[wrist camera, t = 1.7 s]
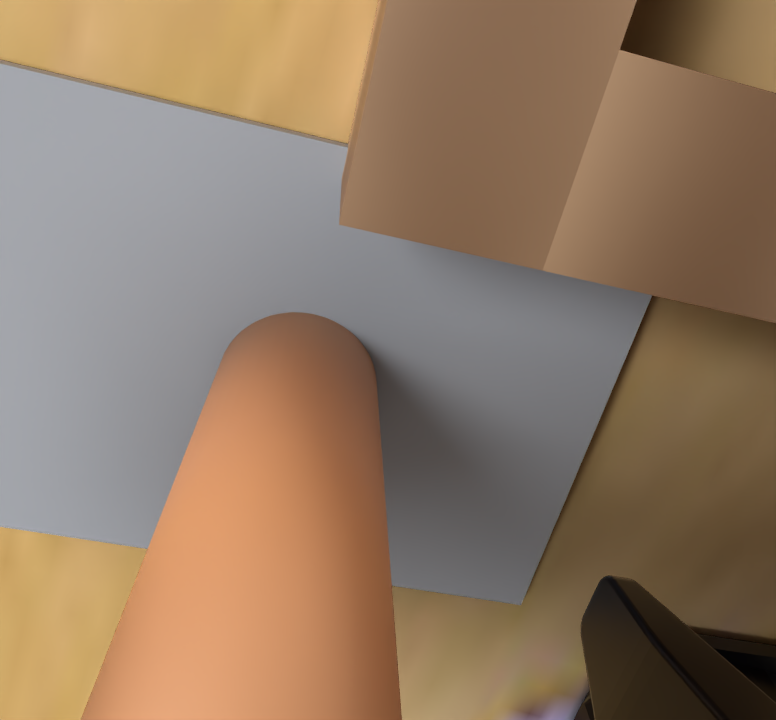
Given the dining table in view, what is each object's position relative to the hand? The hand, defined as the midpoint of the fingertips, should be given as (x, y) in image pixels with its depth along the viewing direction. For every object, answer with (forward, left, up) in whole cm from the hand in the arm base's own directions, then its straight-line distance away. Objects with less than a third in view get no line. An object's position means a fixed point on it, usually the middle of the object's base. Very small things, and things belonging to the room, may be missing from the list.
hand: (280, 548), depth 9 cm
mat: (0, 0, -5) cm, 5 cm away
